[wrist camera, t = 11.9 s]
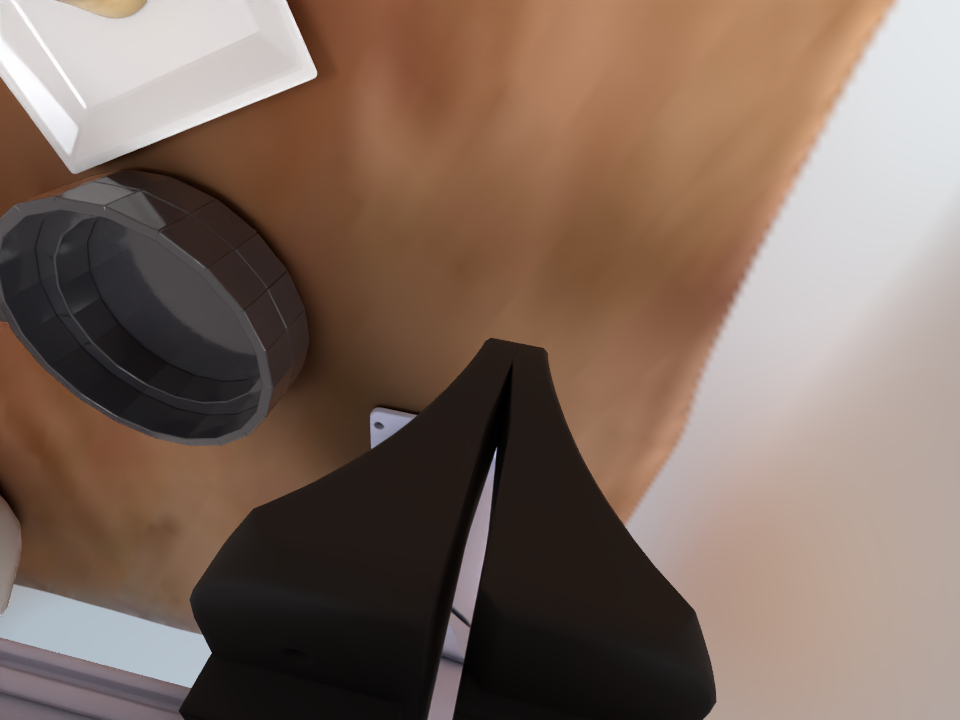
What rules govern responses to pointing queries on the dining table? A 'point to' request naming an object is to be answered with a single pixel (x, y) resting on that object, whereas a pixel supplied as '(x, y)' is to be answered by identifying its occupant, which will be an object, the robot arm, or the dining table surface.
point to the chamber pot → (8, 552)
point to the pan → (153, 305)
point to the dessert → (143, 67)
